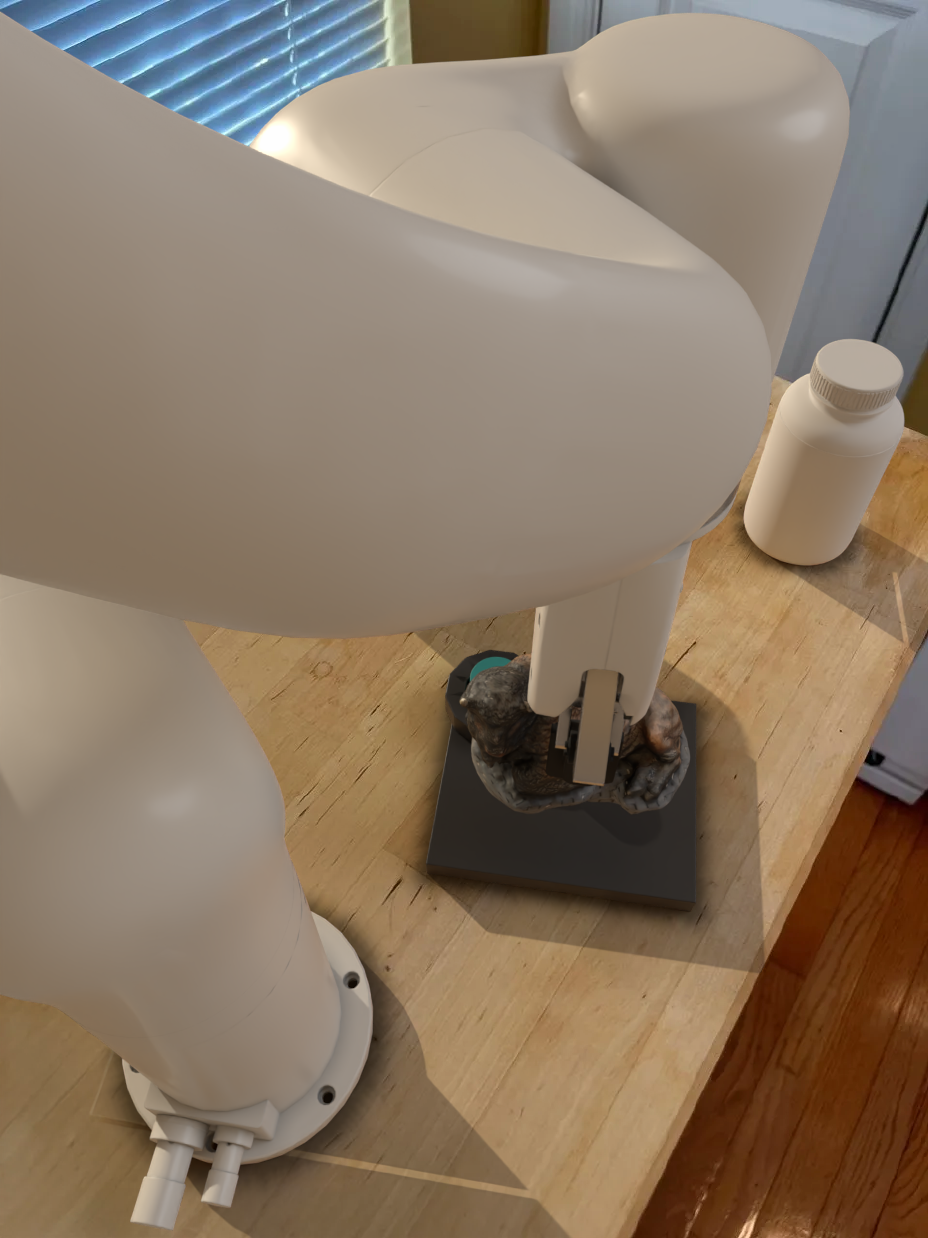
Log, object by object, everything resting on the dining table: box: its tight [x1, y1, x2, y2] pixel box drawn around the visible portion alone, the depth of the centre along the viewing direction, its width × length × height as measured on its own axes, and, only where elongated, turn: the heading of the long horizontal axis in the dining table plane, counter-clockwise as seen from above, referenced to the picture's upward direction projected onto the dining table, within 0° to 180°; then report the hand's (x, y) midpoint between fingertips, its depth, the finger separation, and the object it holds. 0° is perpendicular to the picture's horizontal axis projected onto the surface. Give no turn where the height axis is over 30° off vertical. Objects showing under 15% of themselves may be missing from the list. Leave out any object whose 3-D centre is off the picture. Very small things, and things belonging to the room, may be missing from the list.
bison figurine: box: [459, 652, 690, 814], centre depth 46 cm, size 12×7×10 cm, turn 96°
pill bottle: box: [743, 338, 905, 566], centre depth 64 cm, size 8×8×15 cm
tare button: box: [470, 657, 511, 681], centre depth 57 cm, size 3×3×2 cm
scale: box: [425, 649, 697, 912], centre depth 56 cm, size 14×16×3 cm
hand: (584, 715), depth 46 cm, fingers closed on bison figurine, 5 cm apart
